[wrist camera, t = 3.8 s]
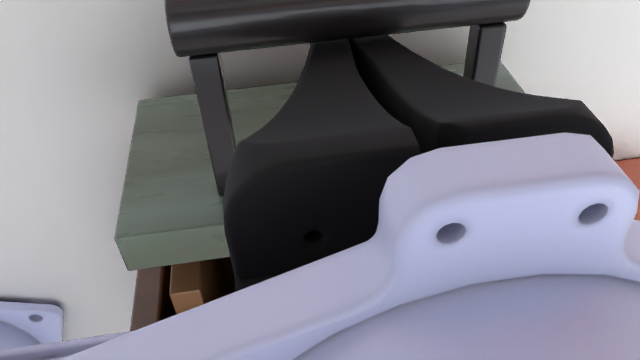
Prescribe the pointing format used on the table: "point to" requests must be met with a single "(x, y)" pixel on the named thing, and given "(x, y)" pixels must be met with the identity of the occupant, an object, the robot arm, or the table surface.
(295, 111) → the robot arm
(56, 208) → the table surface
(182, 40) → the drawer
